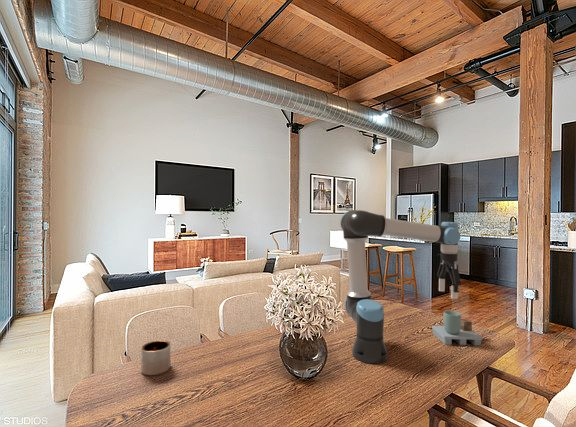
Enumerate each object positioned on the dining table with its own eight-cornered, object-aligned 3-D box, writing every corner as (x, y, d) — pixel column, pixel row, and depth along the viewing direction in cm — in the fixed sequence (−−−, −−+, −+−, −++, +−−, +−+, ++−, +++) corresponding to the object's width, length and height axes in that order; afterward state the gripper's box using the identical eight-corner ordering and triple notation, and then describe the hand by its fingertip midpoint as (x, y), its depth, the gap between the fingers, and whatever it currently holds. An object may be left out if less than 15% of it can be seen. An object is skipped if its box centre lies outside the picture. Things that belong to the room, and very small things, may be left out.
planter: (176, 364, 129) (176, 341, 129) (158, 378, 118) (158, 353, 118) (153, 361, 132) (153, 338, 131) (134, 374, 121) (134, 349, 121)
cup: (456, 330, 159) (457, 310, 158) (463, 336, 151) (464, 315, 151) (440, 329, 159) (441, 309, 159) (446, 335, 152) (447, 315, 151)
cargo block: (463, 331, 157) (463, 322, 157) (457, 327, 162) (457, 319, 162) (471, 330, 158) (471, 321, 158) (465, 327, 163) (465, 318, 162)
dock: (444, 344, 150) (444, 336, 150) (431, 333, 164) (431, 325, 164) (482, 345, 150) (482, 337, 150) (466, 333, 164) (466, 326, 164)
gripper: (470, 256, 143) (468, 302, 144) (445, 249, 168) (444, 288, 169) (453, 256, 144) (452, 301, 144) (431, 249, 169) (429, 288, 169)
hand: (447, 294), depth 156 cm, fingers open, 13 cm apart
